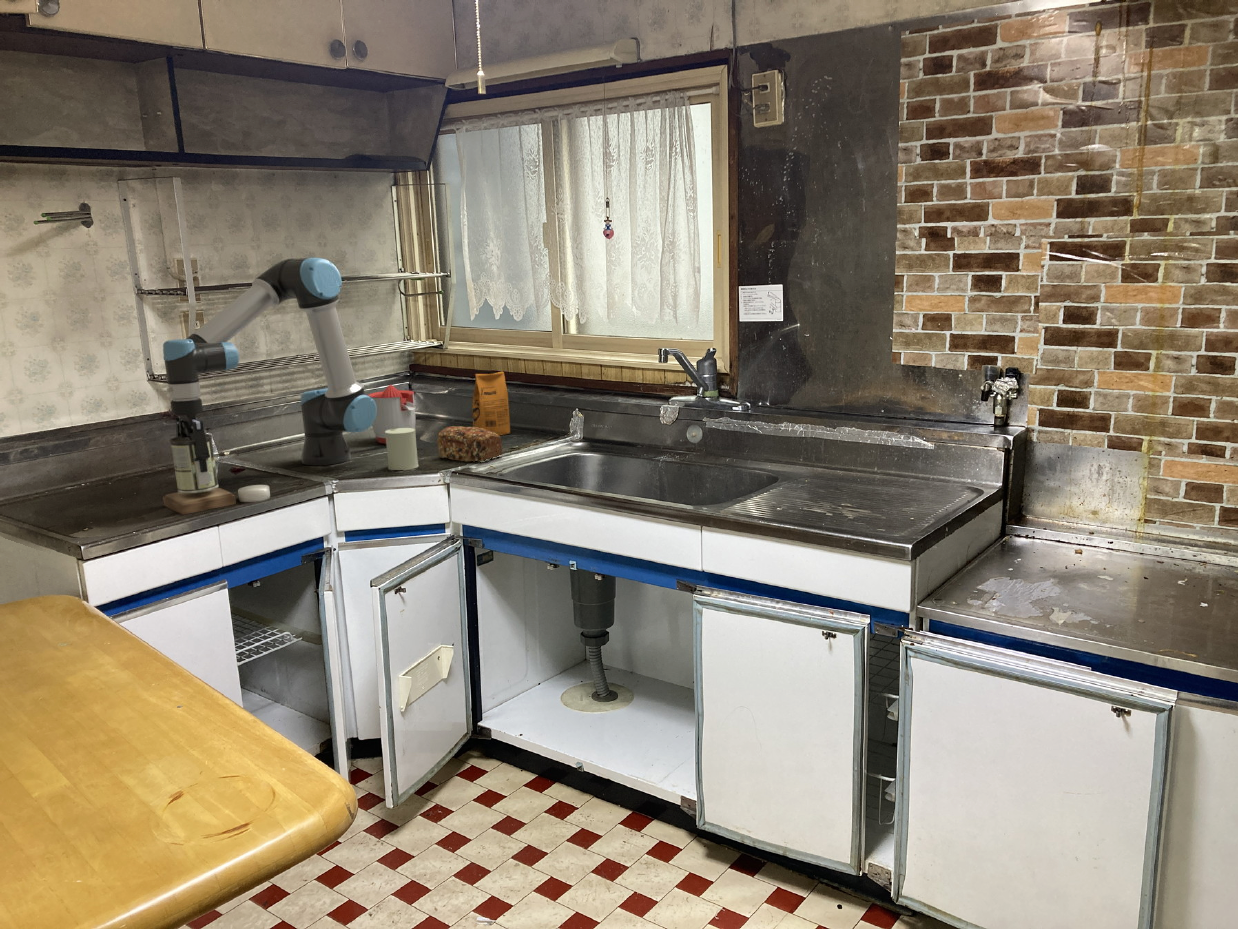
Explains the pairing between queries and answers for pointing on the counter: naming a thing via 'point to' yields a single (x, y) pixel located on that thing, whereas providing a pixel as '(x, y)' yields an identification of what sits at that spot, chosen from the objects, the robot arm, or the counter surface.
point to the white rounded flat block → (254, 493)
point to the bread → (468, 444)
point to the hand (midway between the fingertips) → (197, 480)
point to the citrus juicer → (393, 411)
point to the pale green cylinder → (401, 449)
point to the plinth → (198, 500)
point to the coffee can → (191, 465)
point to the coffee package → (491, 403)
